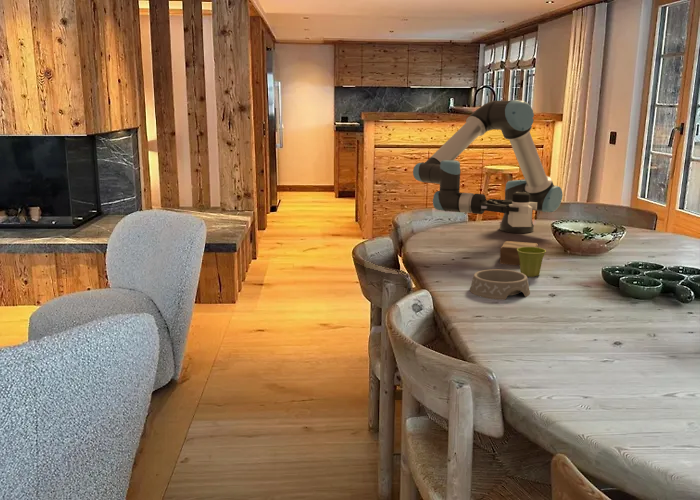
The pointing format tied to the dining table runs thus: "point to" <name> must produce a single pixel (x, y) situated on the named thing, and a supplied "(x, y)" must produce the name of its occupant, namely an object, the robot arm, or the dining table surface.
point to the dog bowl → (499, 284)
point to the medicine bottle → (518, 218)
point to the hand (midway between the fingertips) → (532, 208)
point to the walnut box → (512, 252)
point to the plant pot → (530, 260)
